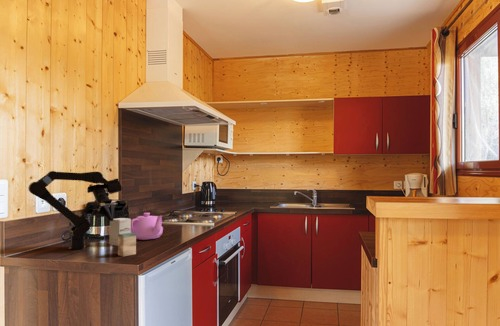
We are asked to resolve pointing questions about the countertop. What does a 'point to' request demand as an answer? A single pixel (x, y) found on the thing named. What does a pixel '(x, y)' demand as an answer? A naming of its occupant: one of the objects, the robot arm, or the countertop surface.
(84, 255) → the countertop surface
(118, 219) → the supplement box
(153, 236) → the teapot
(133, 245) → the birch block
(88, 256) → the countertop surface
